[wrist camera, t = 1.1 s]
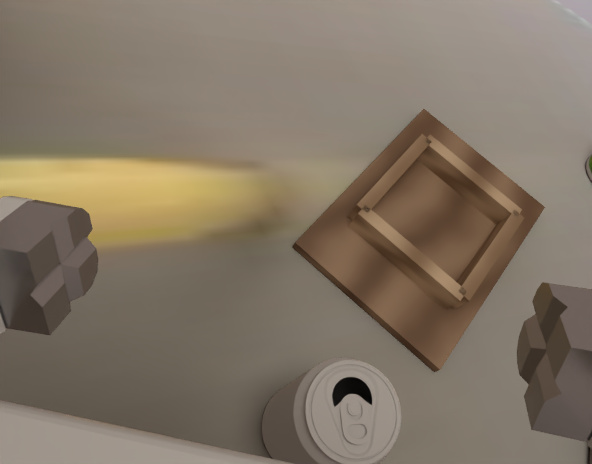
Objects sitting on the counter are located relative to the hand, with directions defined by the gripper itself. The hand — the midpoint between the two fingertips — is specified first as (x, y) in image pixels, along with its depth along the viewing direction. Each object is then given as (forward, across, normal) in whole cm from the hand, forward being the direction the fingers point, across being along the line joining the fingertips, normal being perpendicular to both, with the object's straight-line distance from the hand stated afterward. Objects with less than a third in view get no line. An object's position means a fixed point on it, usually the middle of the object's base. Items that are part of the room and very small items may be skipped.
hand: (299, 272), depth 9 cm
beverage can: (+17, +2, +28) cm, 33 cm away
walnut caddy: (+36, -7, +20) cm, 42 cm away
